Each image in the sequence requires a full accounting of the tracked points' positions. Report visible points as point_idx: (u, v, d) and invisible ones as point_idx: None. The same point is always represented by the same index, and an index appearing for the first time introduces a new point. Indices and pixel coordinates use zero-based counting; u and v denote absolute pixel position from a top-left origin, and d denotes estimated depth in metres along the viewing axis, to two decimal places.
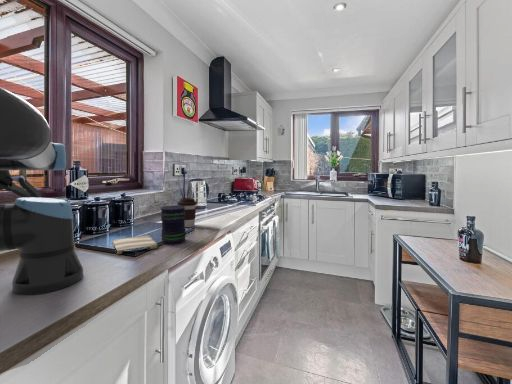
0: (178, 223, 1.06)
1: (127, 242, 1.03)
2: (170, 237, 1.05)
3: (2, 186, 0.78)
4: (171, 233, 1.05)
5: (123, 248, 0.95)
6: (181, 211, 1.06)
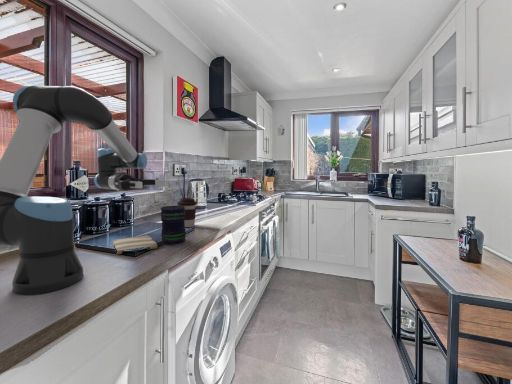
0: (178, 223, 1.06)
1: (127, 242, 1.03)
2: (170, 237, 1.05)
3: (135, 178, 1.19)
4: (171, 233, 1.05)
5: (123, 248, 0.95)
6: (181, 211, 1.06)
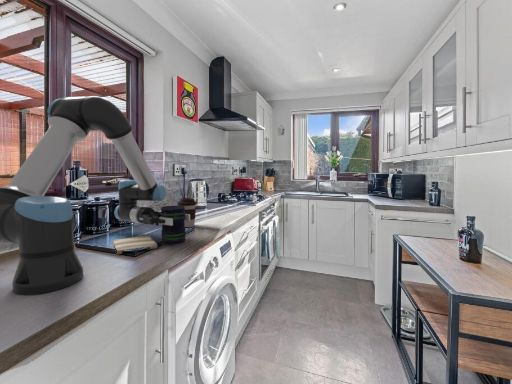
0: (177, 223, 1.06)
1: (127, 242, 1.03)
2: (170, 237, 1.05)
3: (157, 211, 1.15)
4: (171, 233, 1.05)
5: (123, 248, 0.95)
6: (181, 211, 1.06)
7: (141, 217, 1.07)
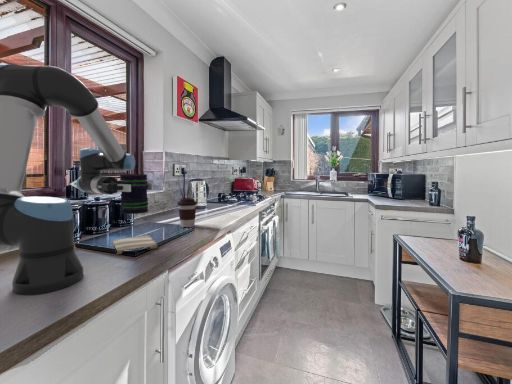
0: (137, 191, 0.98)
1: (127, 242, 1.03)
2: (129, 205, 0.97)
3: None
4: (130, 201, 0.97)
5: (123, 248, 0.95)
6: (141, 178, 0.99)
7: (99, 185, 1.00)
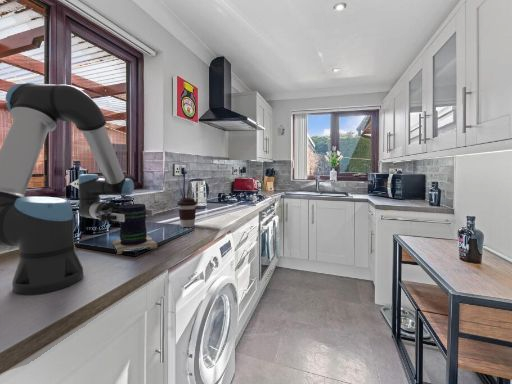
0: (136, 222, 0.99)
1: None
2: (128, 237, 0.98)
3: None
4: (129, 233, 0.98)
5: (123, 248, 0.95)
6: (140, 209, 1.00)
7: (97, 213, 1.01)
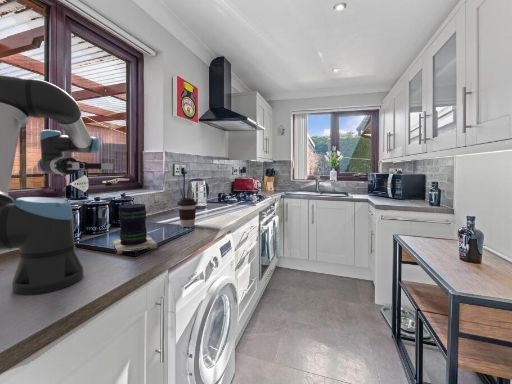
0: (136, 222, 0.99)
1: None
2: (128, 237, 0.98)
3: None
4: (129, 233, 0.98)
5: (123, 248, 0.95)
6: (140, 209, 1.00)
7: (55, 164, 1.03)
